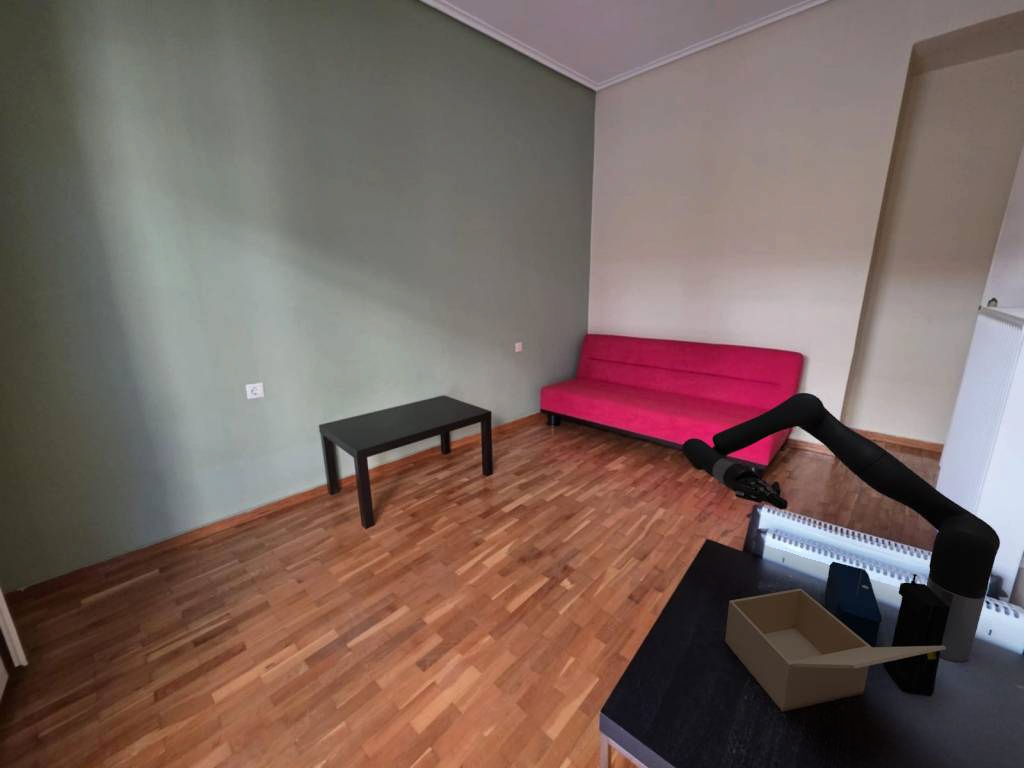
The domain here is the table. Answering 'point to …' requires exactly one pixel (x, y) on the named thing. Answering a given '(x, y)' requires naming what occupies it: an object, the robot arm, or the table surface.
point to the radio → (853, 601)
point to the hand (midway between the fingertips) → (784, 505)
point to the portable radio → (918, 637)
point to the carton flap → (867, 656)
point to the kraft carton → (793, 648)
